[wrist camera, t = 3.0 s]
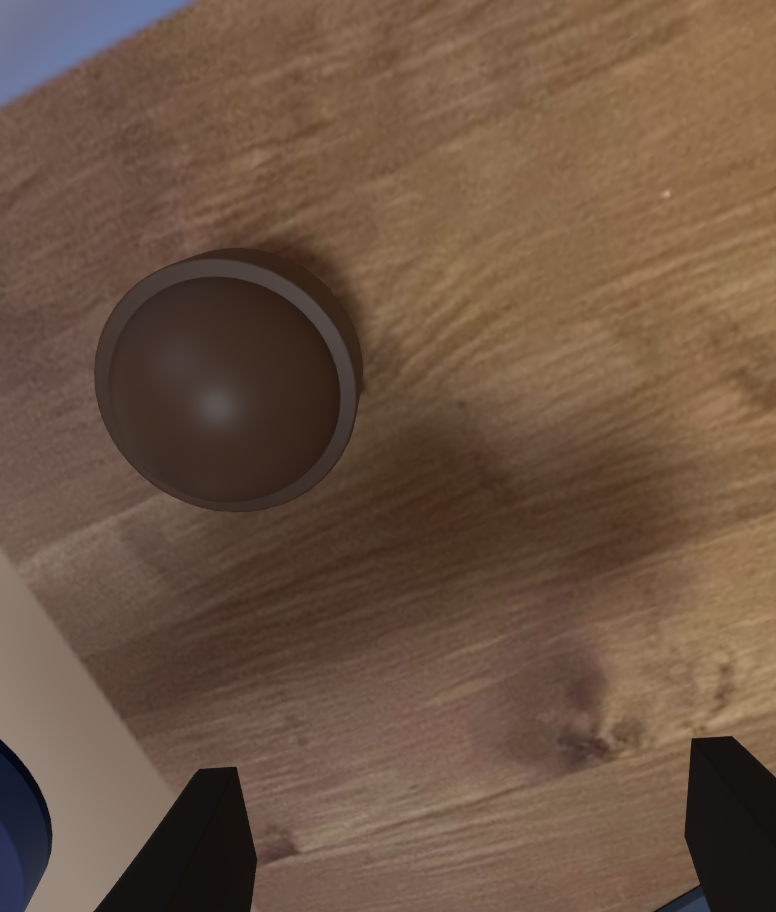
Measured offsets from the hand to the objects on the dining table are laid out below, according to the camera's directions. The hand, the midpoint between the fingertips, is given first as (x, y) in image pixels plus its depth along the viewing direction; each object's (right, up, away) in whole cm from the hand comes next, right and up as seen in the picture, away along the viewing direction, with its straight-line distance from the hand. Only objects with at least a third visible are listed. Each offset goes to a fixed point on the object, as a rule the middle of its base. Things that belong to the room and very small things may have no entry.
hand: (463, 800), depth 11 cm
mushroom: (-4, +9, +8) cm, 12 cm away
